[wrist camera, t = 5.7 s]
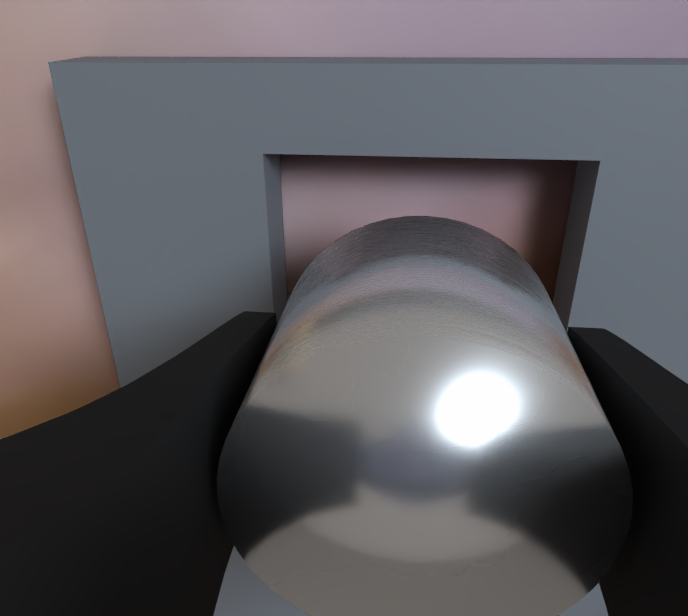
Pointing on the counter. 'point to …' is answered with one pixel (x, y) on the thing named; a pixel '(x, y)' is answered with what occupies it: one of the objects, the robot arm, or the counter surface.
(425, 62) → the keyhole plate
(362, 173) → the counter surface
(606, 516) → the headed peg
